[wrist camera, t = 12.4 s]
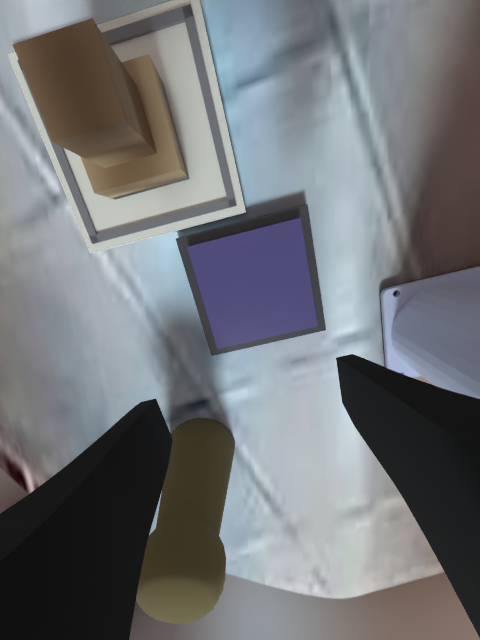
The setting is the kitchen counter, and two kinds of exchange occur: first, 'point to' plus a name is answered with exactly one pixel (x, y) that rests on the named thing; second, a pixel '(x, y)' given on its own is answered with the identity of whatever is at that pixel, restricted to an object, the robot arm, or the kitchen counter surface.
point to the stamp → (104, 110)
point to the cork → (189, 526)
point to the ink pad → (255, 280)
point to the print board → (191, 126)
